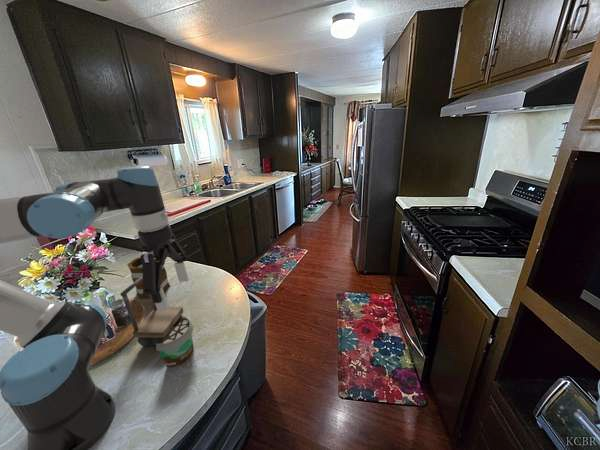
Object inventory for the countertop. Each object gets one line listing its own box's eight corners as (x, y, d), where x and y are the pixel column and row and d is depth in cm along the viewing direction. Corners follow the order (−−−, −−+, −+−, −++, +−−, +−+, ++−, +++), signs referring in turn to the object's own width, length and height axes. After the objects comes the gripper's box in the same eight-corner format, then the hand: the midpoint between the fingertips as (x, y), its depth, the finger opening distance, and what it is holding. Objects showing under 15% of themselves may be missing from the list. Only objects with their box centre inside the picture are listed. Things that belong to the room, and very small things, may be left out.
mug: (168, 294, 107) (160, 264, 101) (133, 302, 102) (122, 272, 97) (172, 273, 124) (166, 246, 119) (142, 279, 119) (134, 252, 114)
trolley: (167, 349, 78) (151, 293, 71) (138, 349, 79) (118, 293, 72) (186, 322, 90) (173, 272, 82) (160, 322, 90) (145, 272, 83)
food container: (181, 374, 70) (173, 348, 66) (163, 371, 71) (154, 345, 68) (205, 341, 81) (199, 317, 78) (189, 338, 82) (183, 315, 79)
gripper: (141, 246, 51) (168, 324, 59) (186, 211, 75) (201, 270, 82) (105, 249, 51) (137, 327, 59) (162, 213, 75) (179, 272, 82)
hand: (174, 294), depth 71 cm, fingers open, 13 cm apart
